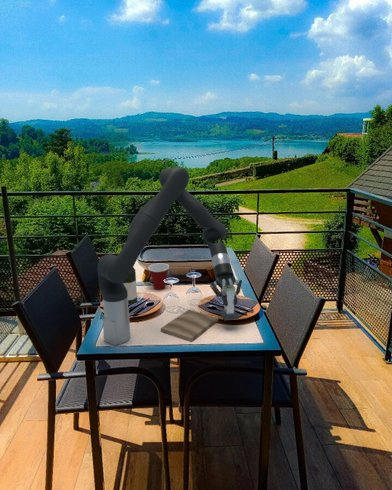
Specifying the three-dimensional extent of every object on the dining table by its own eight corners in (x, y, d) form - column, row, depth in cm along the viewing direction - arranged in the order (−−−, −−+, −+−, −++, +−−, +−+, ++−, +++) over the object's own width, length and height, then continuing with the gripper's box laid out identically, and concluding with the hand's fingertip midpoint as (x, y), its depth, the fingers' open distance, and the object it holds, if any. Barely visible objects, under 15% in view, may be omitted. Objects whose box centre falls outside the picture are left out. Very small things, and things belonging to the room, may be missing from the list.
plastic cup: (146, 291, 186) (145, 269, 183) (152, 283, 196) (151, 262, 193) (167, 292, 184) (166, 270, 181) (172, 284, 194) (171, 263, 191)
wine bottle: (134, 309, 166) (130, 246, 158) (117, 308, 167) (112, 245, 159) (140, 302, 174) (137, 241, 166) (124, 300, 175) (119, 240, 167)
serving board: (191, 341, 138) (191, 338, 137) (160, 331, 146) (160, 328, 145) (218, 320, 154) (218, 317, 153) (188, 312, 162) (188, 309, 161)
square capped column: (237, 318, 145) (238, 288, 142) (224, 320, 144) (225, 289, 141) (233, 312, 151) (233, 283, 147) (220, 314, 149) (220, 284, 146)
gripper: (207, 263, 147) (216, 303, 139) (240, 260, 151) (250, 299, 142) (204, 271, 154) (212, 310, 145) (235, 269, 157) (245, 306, 149)
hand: (231, 304), depth 144 cm, fingers closed on square capped column, 3 cm apart
